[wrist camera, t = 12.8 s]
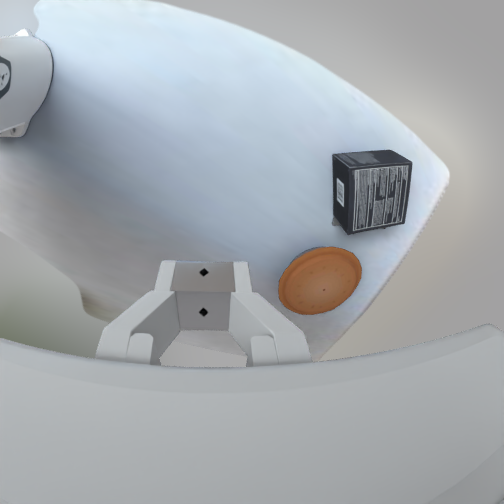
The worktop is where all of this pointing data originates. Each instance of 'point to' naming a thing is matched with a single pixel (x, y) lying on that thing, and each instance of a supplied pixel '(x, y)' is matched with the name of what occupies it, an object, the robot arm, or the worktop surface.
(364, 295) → the worktop surface
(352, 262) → the pie
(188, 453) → the robot arm
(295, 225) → the worktop surface
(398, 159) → the small box
